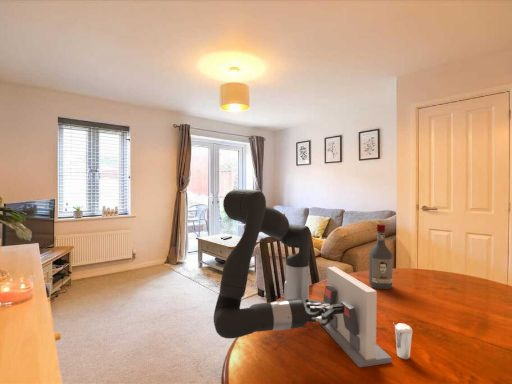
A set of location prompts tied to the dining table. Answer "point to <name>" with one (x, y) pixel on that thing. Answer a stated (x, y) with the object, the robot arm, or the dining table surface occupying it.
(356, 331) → the rocker outlet
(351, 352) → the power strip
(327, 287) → the rocker outlet
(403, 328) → the milkshake
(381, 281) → the liquor
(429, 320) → the dining table surface
